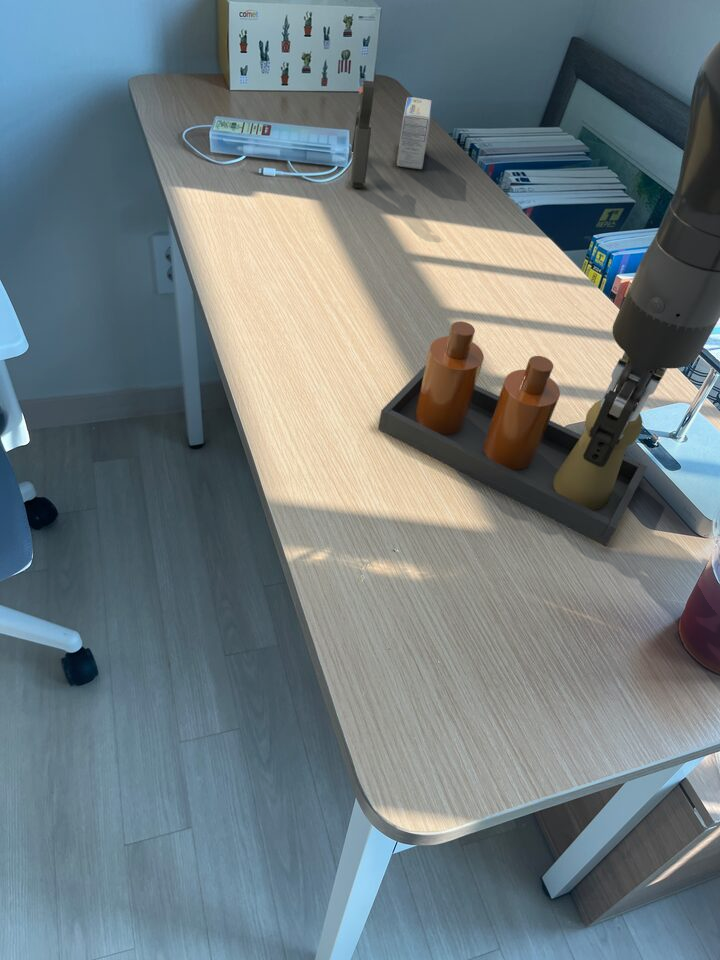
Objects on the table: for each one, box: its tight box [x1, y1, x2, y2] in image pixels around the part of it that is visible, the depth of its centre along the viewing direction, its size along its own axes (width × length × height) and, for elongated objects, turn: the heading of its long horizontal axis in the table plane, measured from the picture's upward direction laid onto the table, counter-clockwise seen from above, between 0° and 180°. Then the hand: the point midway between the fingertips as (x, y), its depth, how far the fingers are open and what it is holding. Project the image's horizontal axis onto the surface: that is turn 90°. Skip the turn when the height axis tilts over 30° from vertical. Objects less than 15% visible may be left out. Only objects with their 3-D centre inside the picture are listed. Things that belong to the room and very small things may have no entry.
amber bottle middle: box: [483, 355, 561, 470], centre depth 77 cm, size 6×6×12 cm
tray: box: [377, 364, 648, 547], centre depth 81 cm, size 27×11×3 cm, turn 58°
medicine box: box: [396, 96, 433, 170], centre depth 127 cm, size 8×4×9 cm, turn 174°
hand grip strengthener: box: [350, 80, 375, 189], centre depth 119 cm, size 2×12×15 cm, turn 1°
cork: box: [553, 399, 643, 510], centre depth 75 cm, size 6×6×11 cm
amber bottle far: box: [415, 321, 484, 434], centre depth 79 cm, size 6×6×12 cm
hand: (603, 444), depth 74 cm, fingers closed on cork, 5 cm apart
